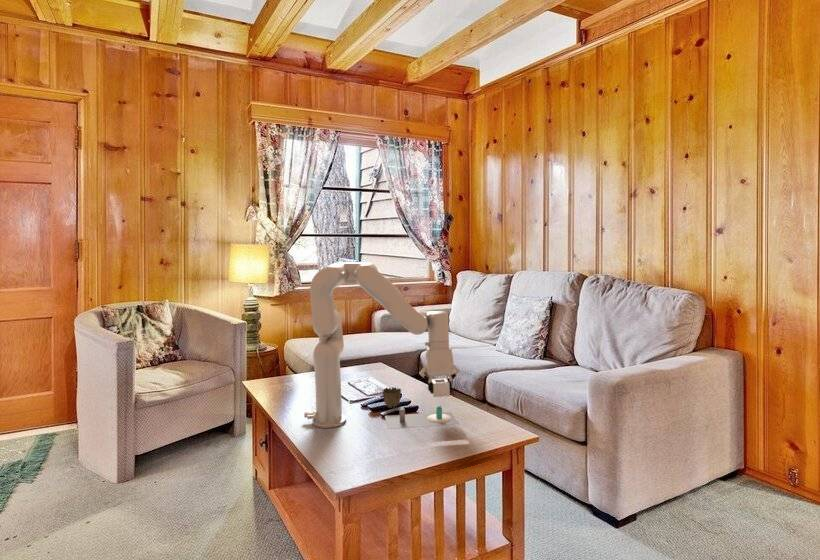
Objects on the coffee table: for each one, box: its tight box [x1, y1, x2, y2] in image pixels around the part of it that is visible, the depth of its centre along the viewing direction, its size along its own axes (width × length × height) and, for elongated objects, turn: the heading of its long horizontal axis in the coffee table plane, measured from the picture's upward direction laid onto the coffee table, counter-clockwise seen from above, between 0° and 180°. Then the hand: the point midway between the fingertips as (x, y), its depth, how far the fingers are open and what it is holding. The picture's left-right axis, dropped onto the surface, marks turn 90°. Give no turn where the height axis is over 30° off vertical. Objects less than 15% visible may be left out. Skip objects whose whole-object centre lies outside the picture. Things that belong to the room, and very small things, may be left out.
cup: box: [382, 387, 402, 409], centre depth 206 cm, size 8×7×8 cm
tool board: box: [384, 405, 460, 430], centre depth 190 cm, size 26×13×6 cm, turn 98°
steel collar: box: [431, 377, 451, 398], centre depth 190 cm, size 6×6×5 cm
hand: (440, 391), depth 191 cm, fingers closed on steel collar, 6 cm apart
